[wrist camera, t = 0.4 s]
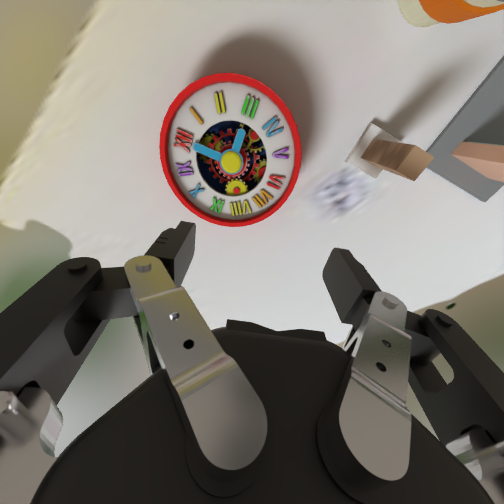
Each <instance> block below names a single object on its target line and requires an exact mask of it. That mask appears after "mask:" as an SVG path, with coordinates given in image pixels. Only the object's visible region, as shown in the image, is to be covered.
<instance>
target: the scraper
mask: <svg viewBox="0 0 504 504" xmlns="http://www.w3.org/2000/svg"><path fill="white" fill-rule="evenodd" d="M433 158H434V157H433V156H432V155H430V154H428V153H427V152H425V151H424V150H422V149H421V148H419V147H417V146H416V145H410V144H404V143H403V142H401V141H400V140H398V139H397V138H395V137H393V136H392V135H390V134H389V133H387V132H385V131H384V130H382V129H381V128H379V127H377V126H376V125H374V124H373V123H369V125H368V126H367V128H366V129H365V131H364V132H363V134H362V136H361V137H360V139H359V140H358V142H357V143H356V145H355V146H354V148H353V150H352V151H351V153H350V154H349V156H348V157H347V159H346V160H345V162H346V163H348V164H350V165H352V166H354V167H355V168H357V169H359V170H361V171H363V172H364V173H366V174H368V175H370V176H372V177H374V178H377V176H378V175H379V174H380V172H381V171H382V170H383V169H384V170H387V171H389V172H392V173H394V174H397V175H400V176H402V177H405V178H407V179H410V180H413V181H415V180H416V179H417V177H418V176H419V175H420V174H421V173H422V171H423V170H424V169H425V168H426V167H427V166H428V164H429V163H430V162H431V161H432V160H433Z"/></svg>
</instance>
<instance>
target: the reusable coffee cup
mask: <svg viewBox="0 0 504 504" xmlns="http://www.w3.org/2000/svg"><path fill="white" fill-rule="evenodd" d="M397 1H398V6H399V10H400V12H401V14H402V16H403V18H404V19H405V20H406V21H407V22H408V23H409V24H411V25H413V26H417V27H427V26H431V25H434V24H438V23H441V22H442V23H457V22H461V21H465V20H468V19H472V18H476V17H479V16H483V15H486V14H490V13H494V12H497V11H499V10H502V9H504V0H397Z"/></svg>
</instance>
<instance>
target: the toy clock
mask: <svg viewBox="0 0 504 504" xmlns="http://www.w3.org/2000/svg"><path fill="white" fill-rule="evenodd" d="M159 147H160V159H161V163H162V167H163V172H164V174H165V177H166V179H167V181H168V184H169V186H170V187H171V189H172V191H173V192H174V194H175V195H176V197H177V198H178V199H179V200H180V201H181V203H182V204H183V205H184V206H185V207H187V208H188V209H189V210H190V211H191V212H192V213H194V214H195V215H197V216H198V217H200V218H202V219H204V220H206V221H208V222H210V223H214V224H217V225H221V226H229V227H240V226H246V225H251V224H254V223H257V222H260V221H262V220H264V219H265V218H267V217H269V216H271V215H272V214H273V213H274V212H276V211H277V210H278V209H279V208H280V207H281V206H282V205H283V204H284V202H285V201H286V200H287V199H288V197H289V195H290V194H291V192H292V191H293V188H294V186H295V184H296V181H297V179H298V175H299V170H300V165H301V144H300V137H299V133H298V129H297V126H296V124H295V121H294V119H293V117H292V115H291V112H290V111H289V110H288V108H287V107H286V105H285V104H284V102H283V101H282V100H281V99H280V98H279V97H278V96H277V95H276V94H275V93H274V92H273V91H272V90H271V89H270V88H268V87H267V86H266V85H264V84H263V83H261V82H260V81H258V80H255V79H253V78H250V77H248V76H245V75H240V74H234V73H219V74H213V75H210V76H206V77H203V78H200V79H199V80H197V81H195V82H193V83H191V84H190V85H188V86H187V87H186V88H185V89H184V90H183V91H182V92H181V93H179V94H178V96H177V97H176V98H175V100H174V101H173V102H172V104H171V105H170V107H169V109H168V111H167V113H166V116H165V118H164V121H163V125H162V128H161V132H160V146H159Z"/></svg>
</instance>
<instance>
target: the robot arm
mask: <svg viewBox="0 0 504 504" xmlns="http://www.w3.org/2000/svg"><path fill="white" fill-rule="evenodd" d="M195 232H196V225H195V223H190V222H184V221H181V222H180V223H179V225H178V226H177V228H176V229H173V228H169V229H167V230H165V231H163V232H162V233H161V234H160V236H159V237H158V238H157V239H156V241H155V242H154V243H153V245H152V246H151V247H150V248H149V250H148V251H147V252H146V253H145V255H144V256H138V257H134V258H132V259H130V260H128V261H127V262H126V263H125V265H124V267H113V268H101V265H100V262H99V261H98V260H96V259H94V258H90V257H79V258H73V259H69V260H67V261H64V262H62V263H60V264H59V265H57V266H56V267H55V268H54V269H53V270H51V271H50V272H49V273H48V274H47V275H45V276H44V277H43V278H42V279H41V280H40V281H38V282H37V283H36V284H35V285H34V286H32V287H31V288H30V289H29V290H28V291H26V292H25V293H24V294H23V295H22V296H21V297H19V298H18V299H17V300H16V301H14V302H13V303H12V304H11V305H10V306H9V307H7V308H6V309H5V310H4V311H3V312H1V313H0V504H504V373H503V372H502V371H501V370H500V368H499V367H498V366H497V365H496V364H495V363H494V362H493V361H492V360H491V359H490V358H489V357H488V355H487V354H486V353H485V352H484V351H483V350H482V349H481V348H480V347H479V346H478V345H477V344H476V343H475V341H474V340H473V339H472V338H471V337H470V336H469V335H468V334H467V333H466V332H465V331H464V330H463V329H462V327H460V325H459V324H458V323H457V322H456V321H454V320H453V319H452V318H451V317H449V316H448V315H446V314H444V313H442V312H440V311H437V310H434V309H428V310H426V311H425V312H424V313H423V315H422V316H420V315H418V314H415V313H412V312H410V311H407V308H406V306H405V304H404V303H403V302H402V301H401V300H399V299H398V298H397V297H395V296H393V295H391V294H389V293H386V292H382V291H381V290H380V288H379V287H378V285H377V284H376V283H375V281H374V280H373V279H372V277H371V276H370V274H369V273H368V272H367V270H366V269H365V268H364V266H363V265H362V264H361V263H359V262H358V261H357V260H356V259H355V258H354V257H353V255H352V254H351V252H350V251H349V250H346V249H340V248H334V249H333V250H332V252H331V254H330V256H329V258H328V260H327V263H326V265H325V267H324V269H323V280H324V282H325V285H326V287H327V289H328V292H329V294H330V296H331V299H332V301H333V303H334V306H335V308H336V311H337V313H338V315H339V318H340V320H341V322H342V323H346V324H352V325H353V327H352V328H351V330H350V331H349V333H348V336H347V338H346V340H345V343H344V345H343V347H342V348H341V347H339V346H337V345H336V344H334V343H332V342H329V341H327V340H326V337H325V334H324V332H321V331H313V330H306V329H295V330H286V331H275V330H272V329H269V328H266V327H263V326H260V325H258V324H255V323H252V322H245V321H237V320H229V319H227V324H226V327H221V328H217V329H213V330H210V328H209V327H208V325H207V324H206V322H205V320H204V319H203V317H202V316H201V314H200V312H199V311H198V309H197V308H196V306H195V304H194V303H193V301H192V299H191V298H190V296H189V295H188V293H187V291H186V290H185V288H184V287H183V286H181V284H182V281H183V279H184V277H185V274H186V272H187V270H188V268H189V265H190V263H191V261H192V258H193V255H194V250H195ZM130 316H132V317H133V319H134V323H135V325H136V328H137V332H138V334H139V337H140V340H141V343H142V346H143V349H144V353H145V357H146V361H147V365H148V368H149V371H150V375H151V376H150V377H149V378H147V379H146V380H145V381H144V382H143V383H142V384H140V385H139V386H138V387H137V388H135V389H134V390H133V391H132V392H131V393H129V394H128V395H127V396H126V397H125V398H123V399H122V400H121V401H120V402H119V403H117V404H116V405H115V406H114V407H112V408H111V409H110V410H109V411H108V412H107V413H105V414H104V415H103V416H102V417H100V418H99V419H98V420H97V421H95V422H94V423H93V424H92V425H91V426H89V427H88V428H87V429H86V430H85V431H83V432H82V433H81V434H80V435H79V436H77V437H76V438H75V439H74V440H73V441H72V442H71V443H70V444H69V446H67V447H66V449H65V450H64V451H63V452H62V453H61V454H60V456H59V457H58V458H56V457H55V456H54V449H55V444H56V441H57V438H58V436H59V433H60V431H61V429H62V425H63V416H62V413H61V411H60V410H59V408H58V407H57V404H58V402H59V401H60V399H61V397H62V396H63V394H64V393H65V391H66V390H67V388H68V386H69V384H70V383H71V381H72V380H73V378H74V377H75V375H76V374H77V372H78V370H79V369H80V367H81V365H82V364H83V362H84V361H85V359H86V357H87V356H88V354H89V352H90V351H91V349H92V348H93V346H94V345H95V343H96V341H97V340H98V338H99V337H100V335H101V333H102V332H103V330H104V329H105V327H106V325H107V324H108V322H109V321H110V319H114V318H122V317H130ZM440 353H441V354H442V355H443V356H444V358H445V359H446V360H447V362H448V363H449V365H450V366H451V367H452V369H453V372H454V379H453V381H452V382H451V383H449V384H448V385H447V383H446V382H445V381H444V379H443V378H442V376H441V375H440V373H439V372H438V370H437V369H436V367H435V366H434V364H433V363H432V360H433V359H434V358H436V357H437V356H438V355H439V354H440ZM408 382H409V384H410V386H411V388H412V389H413V392H414V393H415V395H416V397H417V399H418V401H419V403H420V405H421V407H422V408H423V410H424V412H425V414H426V416H427V418H428V420H429V421H430V423H431V425H432V427H433V429H434V431H435V433H436V435H437V437H438V438H439V440H440V441H439V440H438V439H437V438H436V437H435V436H434V435H433V434H432V433H431V432H430V431H429V430H428V429H427V428H425V427H424V426H423V425H422V424H421V423H420V422H419V421H418V420H417V419H416V418H415V417H414V416H413V415H412V414H411V413H410V412H409V410H408V409H407V407H406V398H407V386H408Z"/></svg>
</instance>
